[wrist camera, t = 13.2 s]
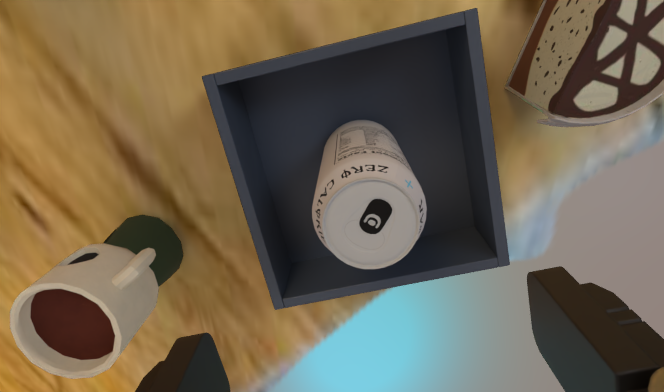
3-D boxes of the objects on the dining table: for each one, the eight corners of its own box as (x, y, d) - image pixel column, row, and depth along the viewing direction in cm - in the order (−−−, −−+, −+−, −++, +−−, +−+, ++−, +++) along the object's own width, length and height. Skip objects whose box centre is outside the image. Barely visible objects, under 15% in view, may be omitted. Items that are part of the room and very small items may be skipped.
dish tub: (285, 268, 41) (274, 310, 34) (227, 70, 35) (201, 76, 29) (482, 229, 39) (510, 265, 32) (452, 14, 34) (477, 7, 27)
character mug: (162, 178, 38) (75, 240, 26) (222, 237, 40) (166, 322, 28) (81, 253, 41) (-34, 342, 29) (140, 306, 42) (55, 413, 30)
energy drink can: (310, 170, 37) (288, 247, 23) (345, 104, 35) (345, 143, 21) (375, 203, 38) (392, 298, 23) (412, 140, 36) (456, 202, 22)
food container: (567, 131, 36) (645, 161, 27) (495, 106, 36) (550, 127, 26) (649, -32, 32) (775, -64, 23) (571, -62, 32) (666, -108, 22)
